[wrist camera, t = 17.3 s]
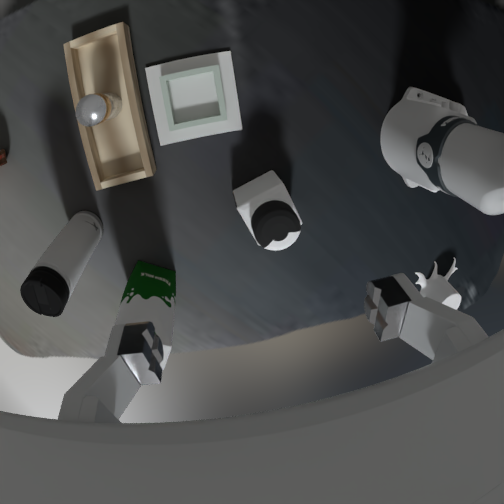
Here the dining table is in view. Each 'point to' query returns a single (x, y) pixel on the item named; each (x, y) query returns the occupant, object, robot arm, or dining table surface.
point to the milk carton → (151, 301)
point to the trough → (130, 117)
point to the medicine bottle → (268, 211)
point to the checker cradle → (194, 97)
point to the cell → (98, 108)
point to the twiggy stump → (440, 288)
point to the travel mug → (62, 265)
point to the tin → (2, 157)
